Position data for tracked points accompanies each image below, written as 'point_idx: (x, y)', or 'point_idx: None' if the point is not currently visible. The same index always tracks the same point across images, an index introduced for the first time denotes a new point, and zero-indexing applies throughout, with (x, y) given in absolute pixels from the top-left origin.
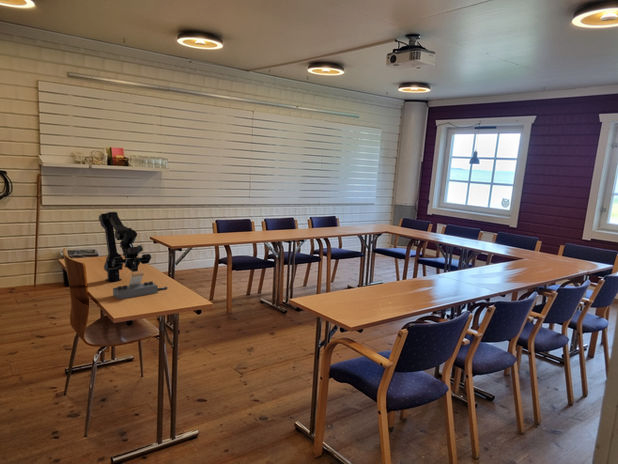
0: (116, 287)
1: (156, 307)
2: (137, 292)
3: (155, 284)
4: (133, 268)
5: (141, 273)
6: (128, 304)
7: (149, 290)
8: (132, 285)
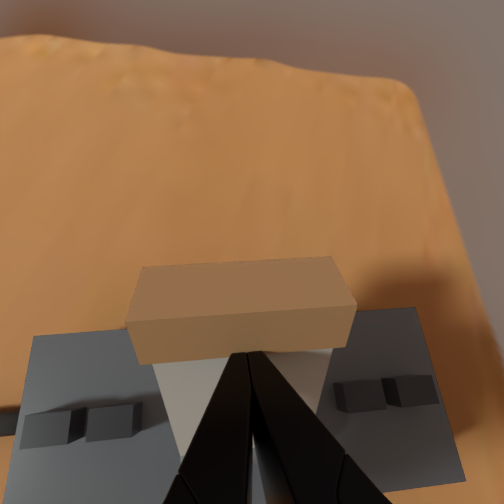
0: (430, 484)
1: (219, 97)
2: None
3: (26, 389)
4: (323, 433)
5: (189, 266)
6: (335, 203)
7: None
8: None
